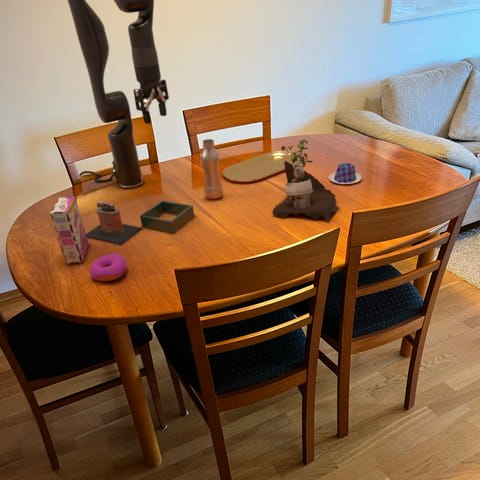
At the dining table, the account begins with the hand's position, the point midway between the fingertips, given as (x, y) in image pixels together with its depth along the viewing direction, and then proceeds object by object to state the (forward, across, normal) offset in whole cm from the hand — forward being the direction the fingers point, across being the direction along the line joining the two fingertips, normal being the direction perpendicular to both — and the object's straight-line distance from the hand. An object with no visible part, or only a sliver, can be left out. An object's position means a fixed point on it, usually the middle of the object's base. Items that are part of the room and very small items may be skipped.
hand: (155, 119), depth 149 cm
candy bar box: (+28, +42, -5) cm, 51 cm away
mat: (+28, +27, -4) cm, 39 cm away
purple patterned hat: (+28, -38, +53) cm, 71 cm away
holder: (+28, +14, +9) cm, 33 cm away
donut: (+28, +47, +12) cm, 56 cm away
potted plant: (+28, -12, +48) cm, 57 cm away
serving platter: (+28, -38, +19) cm, 51 cm away
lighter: (+28, +27, -4) cm, 39 cm away
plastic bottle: (+28, -8, +14) cm, 33 cm away
